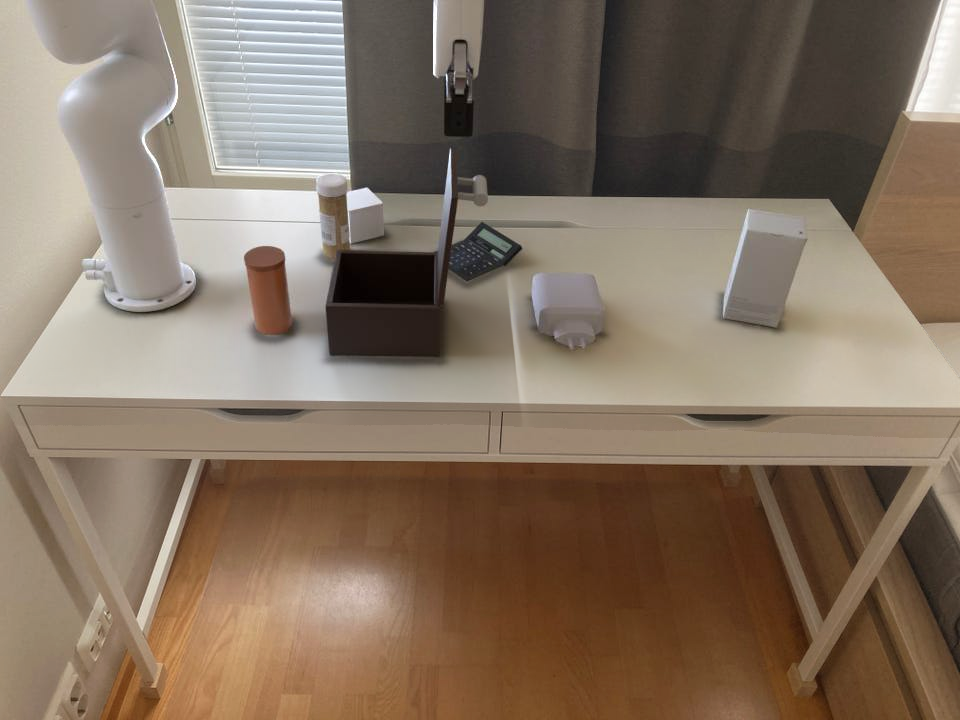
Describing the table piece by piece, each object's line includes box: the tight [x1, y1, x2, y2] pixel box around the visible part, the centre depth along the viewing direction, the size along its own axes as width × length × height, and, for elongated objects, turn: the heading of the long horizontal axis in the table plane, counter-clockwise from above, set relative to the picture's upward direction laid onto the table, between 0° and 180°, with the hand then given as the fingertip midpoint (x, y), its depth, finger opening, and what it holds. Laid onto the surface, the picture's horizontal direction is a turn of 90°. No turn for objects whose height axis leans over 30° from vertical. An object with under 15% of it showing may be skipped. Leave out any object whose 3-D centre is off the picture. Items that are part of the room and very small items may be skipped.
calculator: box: [434, 221, 523, 282], centre depth 127 cm, size 9×12×3 cm
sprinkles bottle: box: [315, 172, 351, 260], centre depth 122 cm, size 5×5×14 cm
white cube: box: [346, 187, 385, 245], centre depth 131 cm, size 6×6×6 cm
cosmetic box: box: [722, 208, 809, 329], centre depth 115 cm, size 8×7×16 cm
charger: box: [530, 272, 606, 350], centre depth 113 cm, size 5×9×15 cm
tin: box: [243, 245, 293, 336], centre depth 108 cm, size 5×5×12 cm
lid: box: [437, 146, 489, 307], centre depth 102 cm, size 15×14×5 cm
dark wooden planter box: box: [325, 249, 441, 358], centre depth 110 cm, size 15×14×9 cm
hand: (457, 118), depth 93 cm, fingers open, 9 cm apart
